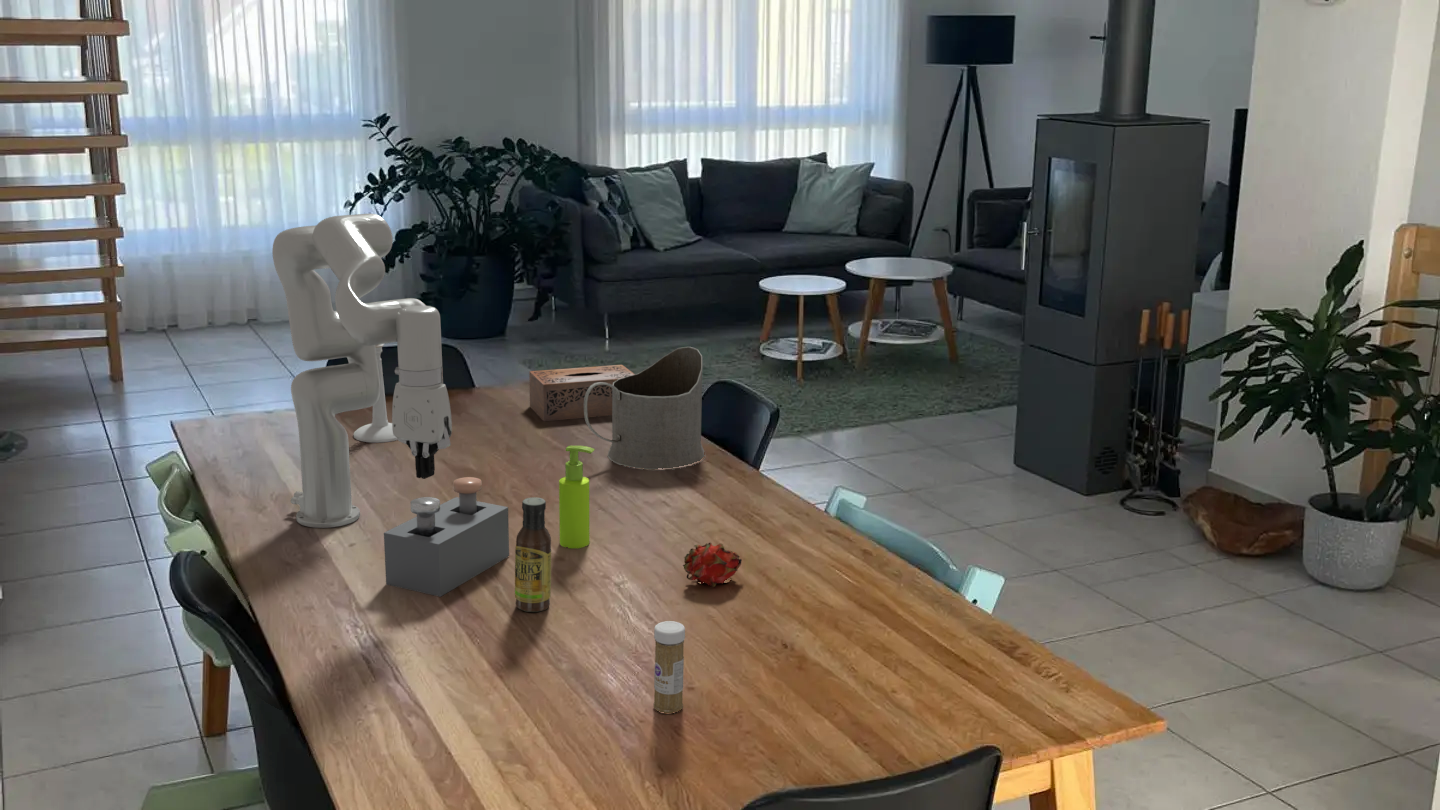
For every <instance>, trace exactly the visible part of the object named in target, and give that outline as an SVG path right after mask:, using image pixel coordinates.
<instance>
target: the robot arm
mask: <svg viewBox="0 0 1440 810" xmlns="http://www.w3.org/2000/svg"><path fill="white" fill-rule="evenodd" d="M392 247H393V234H392V230H391V227H390V225H389V223H388V222H387V221H386V220H385V218H383V217H382V216H380V214H379V215H378V214H376V213H358V214H357V213H356V214H355V213H354V214H343V215H342V214H341V215H334V216H329V217H326V218H324V219H322V220H320V221H319V222H318V223H317V224H315V225H306V226H305V225H304V226H297V227H292V228H289V229H285V230H283V231H281V232H279V233H278V234H277V235H276V236H275V238H274V239H273V243H272V250H271V251H272V260H273V264H274V269H275V271H276V274H277V276H278V278H279V281H280V283H281V285H282V288H283V290H284V294H285V298H286V307H287V313H288V321H289V328H290V335H291V336H290V337H291V342H292V346H293V350H294V353H295V356H296V357H297V358H298V359H299V360H300V361H301V360H302V361H304V362H319V361H329V360H335V359H342V358H347V361H348V363H344V364H337V365H328V366H323V367H315V368H311V369H307V370H304V371H302V372H299V373H297V375H296V376H295V377H294V378H293V379H292V381H291V385H290V393H291V398H292V399H291V400H292V402H293V403H292V404H293V407H294V411H295V415H296V422H297V429H298V440H299V441H298V442H299V453H300V454H299V455H300V457H299V458H300V470H301V471H300V472H301V485H302V491H298V490H297V491H295V492H294V494H293V496H292V497H291V498H290V503H291V504H293V505H298V506H299V510H298V511H297V513H296V514H295V515H296V516H295V519H296V522H297V523H298V524H300V525H302V526H305V527H308V528H314V529H317V528H318V529H327V528H337V527H338V528H339V527H341V526H346V525H349V524H352V523H354V522H355V521H357V520H358V519H360V517H361V510H360V508H359V507H358V506H356V505H354V504H352V487H351V484H352V483H351V468H350V467H351V465H350V463H351V462H350V446H349V445H350V444H349V435H348V432H347V430H346V428H345V426H344V425H342V423H341V422H340V421H339V420H338V419H337V418H336V415H337V414H342V413H343V412H351V411H357V410H361V409H367V408H370V407H373V405H374V404H376V402H377V401H378V399H379V396H380V380H379V371H378V364H377V356H376V348H375V345H379V344H384V345H385V344H391V343H397V362H398V363H397V364H398V366H396V367H395V369H394V373H395V375H397V376H398V382H396V383H395V386H394V391H393V397H392V407H391V408H392V410H391V414H392V415H391V423H392V430H393V434H394V436H395V437H397V438H398V440H397V441H398V442H400V443H402V444H404V445H406V446H407V447H408V448H409V449H410V451H411V455H412V456H413V457H414V462H415V464H414V465H415V475H416V476H415V477H416V478H417V479H422V480H426V479H428V478H430V477H433V476H434V475H435V468H436V466H435V455H436V454H437V453H438V452H439V450H442V449H443V450H445V449H447V448H450V447H451V445H452V444H451V439H450V438H451V437H452V433H453V421H452V411H451V404H450V397H449V393H448V389H447V385H446V384H445V383H444V377H443V373H444V372H443V356H442V354H443V353H442V351H443V350H442V348H443V347H442V329H441V314H440V312H439V310H438V309H437V308H436V307H434V306H431V305H426V304H425V303H424V302H422V301H421V300H420V299H417V298H413V297H410V298H409V297H408V298H398V299H390V300H389V299H388V300H381V301H372V302H371V301H370V302H363V301H361V300H360V299H362V298H363V297H364V296H366V295H368V294H369V293H370V292H373V290H375V289H376V288H378V286H379V285H380V284H381V283H382V281H383V279H384V277H385V274H386V266H385V263H384V261H383V259H382V258H384V257H386V256H387V255H388V254H389V253H390V251H391V249H392ZM323 269H324V270H325V269H326V270H327V269H331V271H332V272H333V274H334V275H335V277H336V278H337V279H338V281H339V282H338V284H337V287H336V291H335V294H334V295H335V299H334V300H335V301H334V302H335V303H334V304H335V308H336V309H335V310H334V308H333V304H332V296H331V290H330V287H329V285H328V284H327V281H325V280H324V279H323V277H322V276H321V275H320V274H319V273H318V272H316V270H323Z"/></svg>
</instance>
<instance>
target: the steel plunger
mask: <svg viewBox="0 0 1440 810" xmlns="http://www.w3.org/2000/svg"><path fill="white" fill-rule="evenodd" d="M440 505H441V500H440V499H438V498H436V497H431V496H425V497H424V496H423V497H418V498H414V499H412V500H411V501H410V512H411V513H412V514H415V515H416V517H417V535H420V536H425V537H431V536H433V535H435V513H437V512H438V511H440Z"/></svg>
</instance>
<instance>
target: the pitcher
mask: <svg viewBox="0 0 1440 810" xmlns="http://www.w3.org/2000/svg"><path fill="white" fill-rule="evenodd" d="M634 374H635V375H631V376H627V377H624V378H621V379H618V380H616V381H615V382H613V385H611V384H608V383H604V382H598V383H594V384H592V385H591V386H590V387H589V388H588V390H587V392H586V394H585V397H584V416H585V418H584V420H585V421H584V422H585V423H586V425H587V427H588V429H589V430H590V431H591V432H592V433H593V435H595V436H596V437H597V438H600V439H602V440H604V441H606V442H609V443H611V445H610V447H609V450H608V453H607V457H608V459H609V461H611V462H612V461H613V463H615V464H617V465H619V466H621V465H624V466H623V467H626V466H629V467H628V468H630V467H635V468H644V469H658V468H662V469H663V468H673V467H679V466H684V465H688V464H692V463H694V462H697V461H700V460H701V459H702V458H703V457H704V456H705V457H706V454H705V455H704V452H705V450H704V447H703V444H702V406H703V405H702V398H703V397H702V396H703V395H702V394H703V355H702V354H701V352H700V351H699V349H698V348H695V347H691V346H684V347H678V348H676V349H675V350H672V351H670V352H669V353H668V354H665V355H664V356H663V357H661V358H660V359H659V360H657V361H656V362H654V363H653V364H652V365H650V366H648V367H647V368H645V369H644V370H641V371H640V372H638V373H634ZM597 385H608V386H610V387H612V415H611V416H612V419H611V420H612V421H611V423H612V424H611V429H612V430H611V433H612V435H611V438H612V439H609V438H605V437H603V436H602V435H600V434H599V433H598V432H597V431H595V429H594V428H593V427H592V425H591V424H590V421H589V417H588V414H587V401H588V396H589V393H590V391H591V390H592V389H593V388H594V387H595V386H597ZM635 468H634V469H635Z"/></svg>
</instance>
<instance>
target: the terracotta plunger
mask: <svg viewBox="0 0 1440 810" xmlns="http://www.w3.org/2000/svg"><path fill="white" fill-rule="evenodd" d="M452 484H453V485H452V486H453V491H454V492H455V493H458V496H459V497H458V498H459V506H460V513H463V514H468V515H473V514H475V513H477V501H478V500H477V493H479V492H480V491H482V488H483V487H482V479H480V478H478V477H473V476H472V477H471V476H467V477H466V476H465V477H459V478H456V479H454V480H453V483H452Z"/></svg>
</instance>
